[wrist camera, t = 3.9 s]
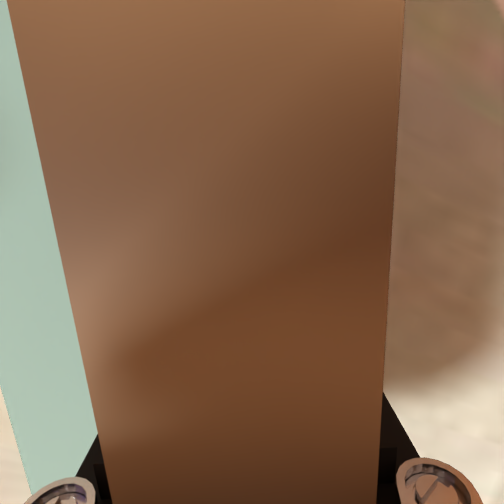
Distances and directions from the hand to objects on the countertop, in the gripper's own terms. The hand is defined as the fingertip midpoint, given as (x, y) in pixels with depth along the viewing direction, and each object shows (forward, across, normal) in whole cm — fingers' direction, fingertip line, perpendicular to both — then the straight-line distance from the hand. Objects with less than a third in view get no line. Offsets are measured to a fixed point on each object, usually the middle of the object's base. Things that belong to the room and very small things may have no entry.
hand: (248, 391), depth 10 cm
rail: (-1, 0, 0) cm, 1 cm away
